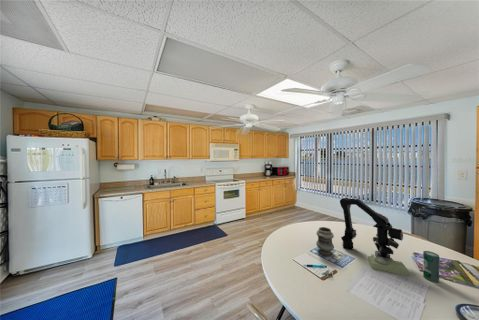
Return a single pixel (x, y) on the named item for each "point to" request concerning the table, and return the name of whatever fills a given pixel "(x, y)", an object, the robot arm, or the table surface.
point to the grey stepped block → (377, 253)
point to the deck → (387, 265)
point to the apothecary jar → (325, 241)
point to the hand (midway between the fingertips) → (382, 257)
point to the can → (431, 266)
